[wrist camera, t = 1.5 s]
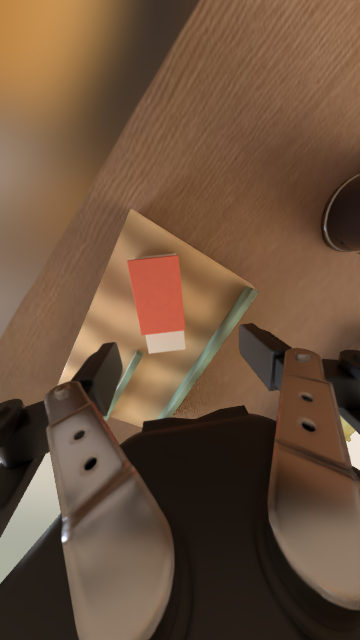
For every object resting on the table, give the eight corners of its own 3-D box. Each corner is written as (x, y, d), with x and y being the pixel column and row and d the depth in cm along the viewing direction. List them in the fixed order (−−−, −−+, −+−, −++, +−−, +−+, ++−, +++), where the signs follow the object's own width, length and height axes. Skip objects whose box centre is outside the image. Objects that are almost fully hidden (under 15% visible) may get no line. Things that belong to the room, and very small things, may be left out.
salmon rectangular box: (134, 257, 21) (126, 258, 16) (175, 253, 21) (178, 252, 17) (150, 344, 25) (146, 364, 21) (184, 340, 26) (188, 359, 21)
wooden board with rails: (135, 214, 22) (127, 203, 17) (245, 282, 26) (262, 288, 22) (62, 385, 30) (43, 409, 26) (155, 417, 34) (154, 442, 30)
